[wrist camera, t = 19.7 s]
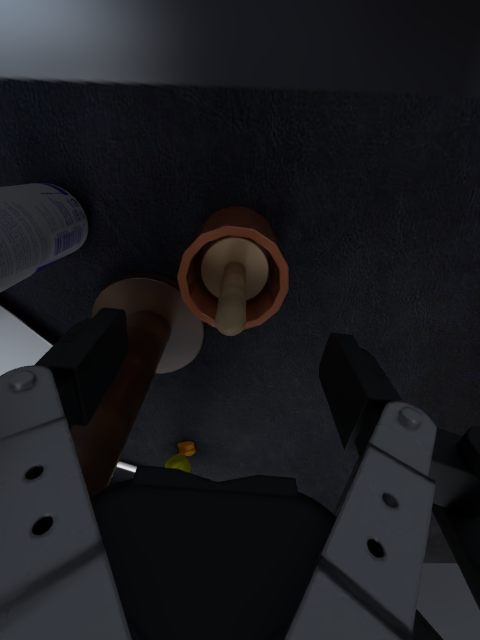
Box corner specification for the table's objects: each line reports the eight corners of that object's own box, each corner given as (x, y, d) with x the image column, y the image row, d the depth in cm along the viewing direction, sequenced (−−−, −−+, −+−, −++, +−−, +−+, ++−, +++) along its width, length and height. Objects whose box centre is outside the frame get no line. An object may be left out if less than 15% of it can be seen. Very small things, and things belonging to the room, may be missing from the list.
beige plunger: (209, 216, 22) (177, 271, 11) (270, 224, 22) (293, 286, 12) (205, 274, 24) (175, 364, 14) (260, 281, 24) (272, 375, 14)
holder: (198, 200, 22) (178, 219, 15) (284, 212, 22) (300, 235, 15) (194, 280, 25) (176, 324, 18) (269, 289, 25) (278, 335, 19)
